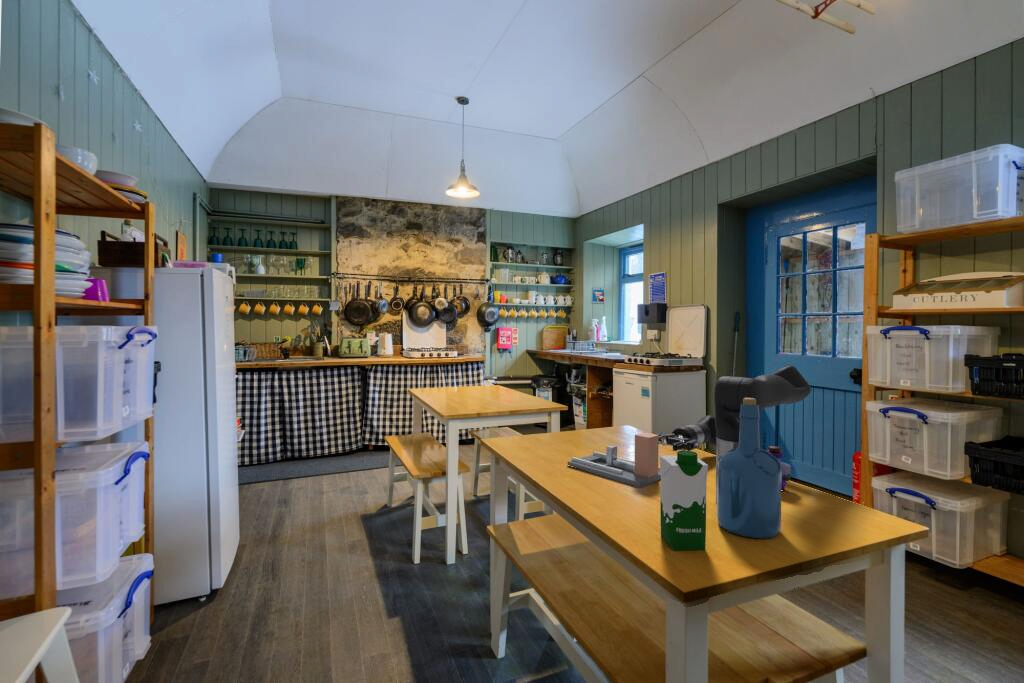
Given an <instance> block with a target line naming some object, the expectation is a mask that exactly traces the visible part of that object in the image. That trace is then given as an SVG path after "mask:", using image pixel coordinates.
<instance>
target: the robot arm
mask: <svg viewBox="0 0 1024 683" xmlns="http://www.w3.org/2000/svg"><path fill="white" fill-rule="evenodd" d="M811 391H812V388H811V386H810V384H809V383H808V381H807V380H806V379H805V377H804V376H803V375H802V373H800V371H799V370H798V369H797V368H796V366H794V365H787V366H784V367H781V368H780V369H778V370H776V371H775V372H773V373H772V374H763V375H758V376H756V377H754V378H753V377H743V376H727V375H725V376H720V377H719V378H718V379H717V380H716V382H715V386H714V391H713V392H714V393H713V394H714V395H713V396H714V397H713V398H714V400H713V401H714V416H713V415H710V414H709V415H705V416H703V417H701V418H700V419H699V420H698V421H697V422H696V423H693V424H688V425H685V426H684V425H683V426H681V427H677V428H675V429H673V431H672V432H671V433H669V434H668V433H667V434H664V433H663V432H659V433H654V434H655V435H659V444H658V445H661V446H662V447H663V446H665V447H667V446H669V447H672V451H673V452H678V451H693V450H696V449H698V447H699V446H700V445H703V444H706V443H708V444H709V445H710V446H716V448H715V449H716V450H715V452H716V453H715V454H716V455H715V458H716V459H715V503H716V504H717V474H718V460H719V458H720V457H721V455H723V454H724V453H726V452H727V451H730V450H732V449H735V448H736V447H737V446H738V442H739V424H740V418H739V412H740V405H741V404H742V403H743V399H744V398H754V399H756V404H757V405H758V406H759V412H761V411H762V410H764V409H767V408H772V407H777V406H779V405H791V404H796V403H799V402H800V401H803V400H805V399H806V398H807V397H809V395H810V394H811Z"/></svg>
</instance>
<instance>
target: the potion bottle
mask: <svg viewBox="0 0 1024 683" xmlns="http://www.w3.org/2000/svg"><path fill="white" fill-rule="evenodd" d="M765 450H766V451H768V452H769V453H771V454H772V455H773V456H775V457H776V458H777V459H778V461H779V462H780V464H781V470H782V489H781V490H786V489H785V488H786V485H787V482H790V480H791V473H792V472H791V471H792V466H791V465H790V464H789V463H786V462H782V461H781V458H784V452H783V451H781V450H782V448H781V446H776V445H775V446H774V445H769V446H768V449H765Z"/></svg>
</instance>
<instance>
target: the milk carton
mask: <svg viewBox="0 0 1024 683" xmlns="http://www.w3.org/2000/svg"><path fill="white" fill-rule="evenodd" d="M659 466H660V467H659V469H661V480H660V510H659V511H660V536H661V537H662V539H663V540H664V541H665V543H666V544H667V545H668V546H669V547H670V549H671V550H672V551H697V550H699V551H700V550H701V551H703V550H706V543H707V542H706V539H707V537H706V535H707V534H706V532H707V480H708V478H707V477H708V470H709V464H707V463H706V462H704V461H703V460H701V458H699V457H698V452H696V451H693V450H691V451H688V450H678V451H676V455H660V456H659Z"/></svg>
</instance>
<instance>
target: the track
mask: <svg viewBox="0 0 1024 683" xmlns="http://www.w3.org/2000/svg"><path fill="white" fill-rule="evenodd" d="M617 459H620V460H624V461H628V462H632V463H635V460H630V459H627V458H623V457H619V456H617ZM568 465H570V466H573V467H576V468H579V469H582V470H585V471H584V472H586V471H588V472H587V473H589V472H591V473H590V474H592V473H594V474H593V475H596V474H597V476H599V475H600V476H599V477H602V476H603V477H602V478H606V479H609V478H610V479H609V480H612V479H613V480H612V481H616V482H619V483H622V482H623V483H622V484H626V485H629V486H632V485H633V486H632V487H636V488H642V487H644V486H647V485H650V484H653V483H655V482H657V481H661V480H660V479H661V469H660V467H658V475H656V476H653V477H650V478H647V477H643V476H640V475H636V474H635V472H633V471H632V470H628V469H624V468H621V467H617V466H613V465H612V466H611V465H607V464H606V453H604V452H598V451H593V452H592V454H591V455H587V456H583V457H580V458H579V457H575V456H573V457H571V460H569V461H567V466H568ZM576 468H575V469H576ZM579 469H578V470H579ZM582 470H581V471H582Z"/></svg>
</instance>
